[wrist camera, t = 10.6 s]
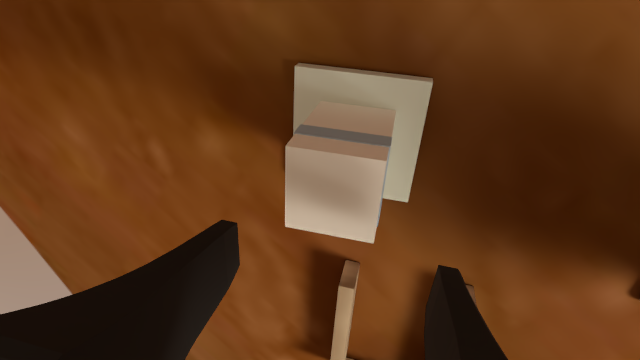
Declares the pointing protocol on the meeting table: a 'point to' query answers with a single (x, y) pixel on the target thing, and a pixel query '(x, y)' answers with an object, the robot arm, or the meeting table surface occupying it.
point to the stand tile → (379, 93)
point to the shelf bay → (350, 309)
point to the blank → (338, 170)
